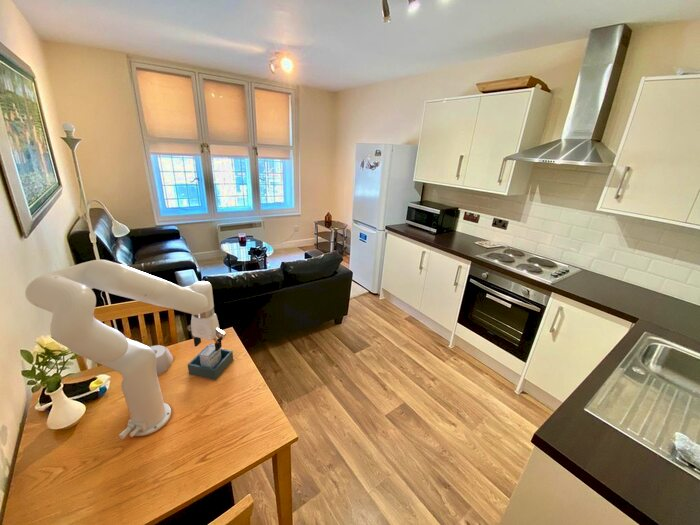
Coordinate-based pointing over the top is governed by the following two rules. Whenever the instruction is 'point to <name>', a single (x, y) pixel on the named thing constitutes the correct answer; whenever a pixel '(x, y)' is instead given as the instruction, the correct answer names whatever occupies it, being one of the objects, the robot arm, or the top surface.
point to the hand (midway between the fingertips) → (208, 346)
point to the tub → (210, 373)
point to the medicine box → (210, 357)
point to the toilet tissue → (162, 358)
